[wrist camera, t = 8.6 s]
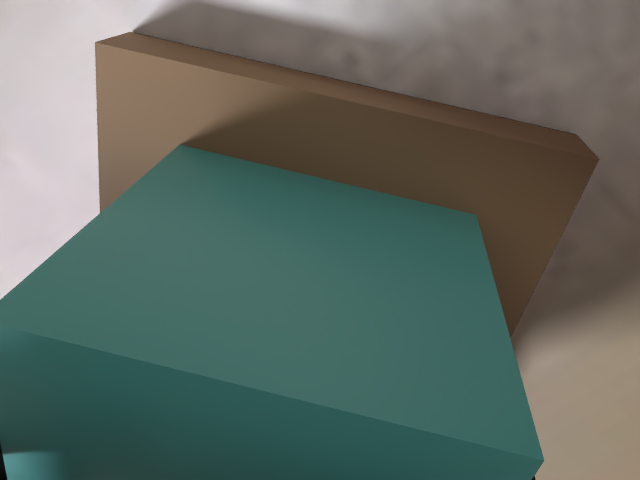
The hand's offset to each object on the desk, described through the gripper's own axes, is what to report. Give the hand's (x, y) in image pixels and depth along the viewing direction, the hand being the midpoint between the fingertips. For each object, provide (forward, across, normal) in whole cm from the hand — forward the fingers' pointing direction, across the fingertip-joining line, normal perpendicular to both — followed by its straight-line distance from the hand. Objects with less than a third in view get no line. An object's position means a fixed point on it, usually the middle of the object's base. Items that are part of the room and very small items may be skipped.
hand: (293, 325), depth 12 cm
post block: (+2, 0, 0) cm, 2 cm away
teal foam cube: (+1, 0, 0) cm, 1 cm away
